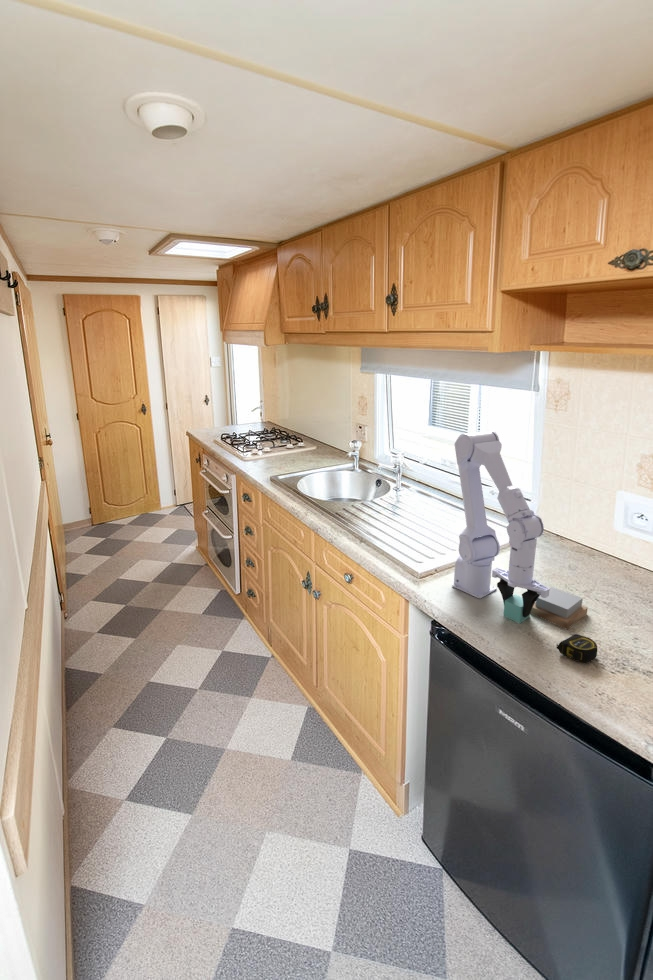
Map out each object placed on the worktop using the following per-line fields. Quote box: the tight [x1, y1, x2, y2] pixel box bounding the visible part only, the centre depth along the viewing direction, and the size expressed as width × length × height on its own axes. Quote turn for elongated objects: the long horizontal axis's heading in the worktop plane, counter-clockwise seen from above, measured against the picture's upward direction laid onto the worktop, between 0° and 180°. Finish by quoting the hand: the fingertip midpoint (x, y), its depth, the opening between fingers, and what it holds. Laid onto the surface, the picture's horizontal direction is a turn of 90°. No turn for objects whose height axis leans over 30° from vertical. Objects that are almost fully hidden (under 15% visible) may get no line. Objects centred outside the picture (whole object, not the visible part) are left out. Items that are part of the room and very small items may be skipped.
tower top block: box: [536, 586, 584, 619], centre depth 131 cm, size 8×8×2 cm
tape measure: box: [556, 633, 598, 663], centre depth 115 cm, size 7×7×4 cm
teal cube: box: [503, 594, 531, 624], centre depth 131 cm, size 4×4×4 cm
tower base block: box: [530, 602, 589, 630], centre depth 132 cm, size 10×10×2 cm
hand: (516, 611), depth 131 cm, fingers closed on teal cube, 4 cm apart
